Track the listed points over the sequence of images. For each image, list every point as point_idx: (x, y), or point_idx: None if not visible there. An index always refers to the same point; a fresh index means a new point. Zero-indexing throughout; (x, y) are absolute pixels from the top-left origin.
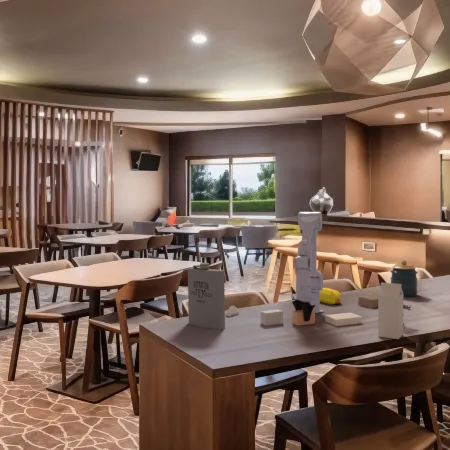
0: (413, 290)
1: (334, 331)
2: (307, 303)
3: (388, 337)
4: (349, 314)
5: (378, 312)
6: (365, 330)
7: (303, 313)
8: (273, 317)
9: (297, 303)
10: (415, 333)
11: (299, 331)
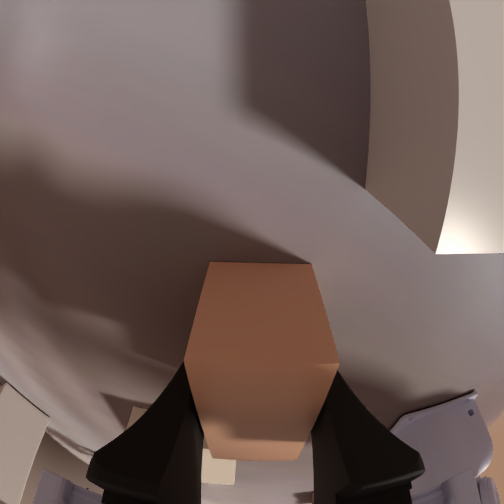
0: None
1: (41, 347)
2: (119, 501)
3: (1, 386)
4: (204, 477)
5: None
6: (66, 412)
7: (184, 396)
8: (410, 60)
9: (335, 482)
10: (53, 435)
11: (38, 179)
